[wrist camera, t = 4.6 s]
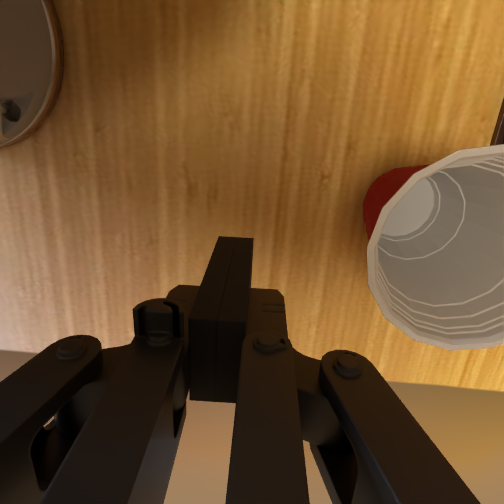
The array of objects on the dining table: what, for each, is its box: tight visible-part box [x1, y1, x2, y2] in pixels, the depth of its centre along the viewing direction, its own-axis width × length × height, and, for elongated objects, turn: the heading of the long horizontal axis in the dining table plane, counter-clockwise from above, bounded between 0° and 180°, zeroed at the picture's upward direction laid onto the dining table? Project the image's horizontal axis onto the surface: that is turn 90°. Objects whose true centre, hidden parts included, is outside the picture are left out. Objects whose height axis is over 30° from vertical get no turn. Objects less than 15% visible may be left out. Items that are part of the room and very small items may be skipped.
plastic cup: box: [363, 144, 504, 351], centre depth 23 cm, size 11×11×12 cm
